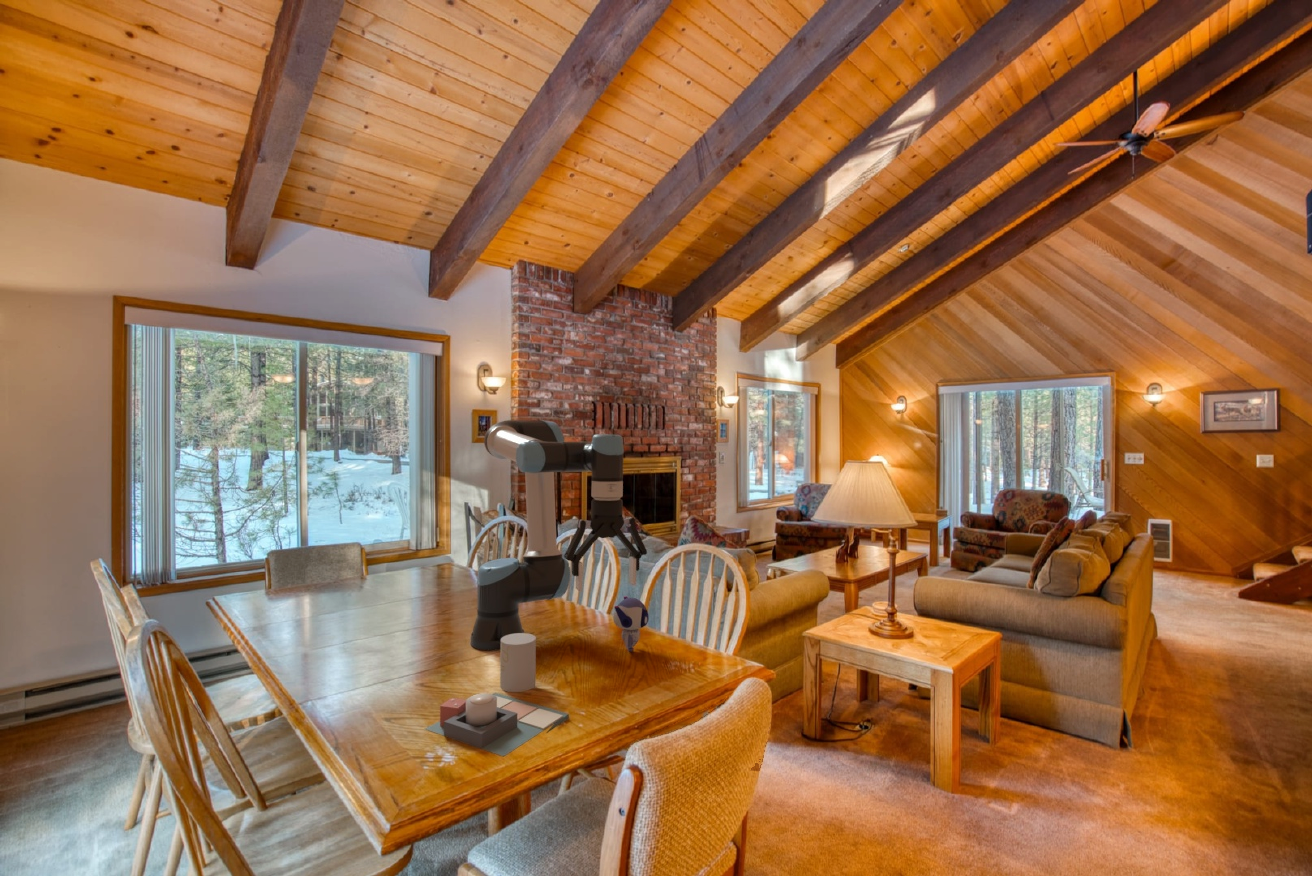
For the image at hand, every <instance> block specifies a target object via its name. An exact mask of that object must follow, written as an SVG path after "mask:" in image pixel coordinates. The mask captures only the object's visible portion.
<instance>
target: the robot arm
mask: <svg viewBox="0 0 1312 876" xmlns="http://www.w3.org/2000/svg"><path fill="white" fill-rule="evenodd" d="M483 444H484V447H485V450H486V451H487V452H488V453H489V454H490V455H491V456H493V457H494V458H497V459H501V460H506V459H508V460H510V461H513V462H515V464H516V466H517V468H518V471H520V472H521V473H524V476H525V477H524V479H525V501H526V503H525V504H526V506H525V507H526V528H527V529H526V532H527V534H526V535H527V551H526V552H525V553H524V554H523V556H522V559H523V561H522V562H520V559H518V558H515V557H502V558H497V559H493V560H489V561H487V562H484V563H483V564H481V565H480V566H479V567H478V570H477V571H478V572H477V578H476V579H477V580H476V585H477V591H476V592H477V594H476V596H477V599H476V600H477V601H476V603H477V605H476V618H475V622H474V625H473V628H472V629H473V630H472V632H471V633H470V645H471V647H472V648H474V649H477V650H482V651H501V638H502V637H504V636H506V635H509V634H515V633H525V630H524V628H523V625H522V621H521V617H520V613H519V612H520V611H519V609H520V608H519V606H520V604H522V603H524V604H525V603H532V602H540V601H545V600H547V601H551V600H553V599H558V598H561V597H563V596H564V595H565V594H566V593H567V590H568V589H569V586H570V581H571V575H572V576H573V577H575V589H576V590H577V591H578V592H582V591H583V562H582V561H581V560H582V559H583V557H584V556H585V554H586V553H587V552H589V551H588V550H589V549H590V548H591V547H592V545H593V544H594V543H595V542H596V541H597V540H598V539H599V538H601V539H607V538H615V537H617V538H618V540H619V541H620V542H621V543H622V544H623V546H624V547H625V548H626V549H627V551H628V552H629V553H630V554H631V555H632V556H629V557H628V583H629V585H631V586H637V572H638V571H639V570H640V559H641V558H642V556H644V555H647V554H648V551H647V549H646V546H645V545H644V542H643V540H642V538H641V535H640V533H639V530H638V529H637V527H636V519H635V518H634V517H631V516H627V517H626V518H623V511H624V510H623V509H624V508H623V507H624V505H623V503H624V502H623V499H621V498H623V494H624V493H623V492H624V490H623V489H624V486H623V484H624V481H623V479H624V452H625V449H624V439H623V436H622V435H621V434H604V433H603V434H600V433H599V434H593V436H592V438H591V441H589V440H581V441H565V437H564V434H563V430H562V429H561V427H560V426H559V425H558V423H556V422H555V421H549V420H544V419H543V420H517V419H515V420H514V419H508V420H502V421H498V422H496V423H495V424H493V425H491V426H490V427H489V428H488V429H487V431H486V432H485V435H484V439H483ZM570 472H571V473H575V472H576V473H577V472H579V473H581V472H590V473H591V493H590V495H591V497H592V498H593V499H592V500H590V501H591V502H590V503H591V505H590V507H591V508H590V516H591V518H590V519H589V520H585V519H582V518H581V519H580V518H579V519H578V521H577V528H576V530H575V532H574V534H573V537H572V538H571V541H570V542H569V545H568V547H567V549H566V551H565V553H564V556H563V553H562V551H561V550H560V549H559V548H558V545H557V521H556V519H557V518H556V500H555V498H556V497H555V475H554V473H570ZM623 526H625V527H627V529H628V532H629V534H630V535H631V538H632V540H633V542H634V544H635V546H636V548H637V549H636V548H635V546H634V545H633V544H632V542H631V541H630V540H629V539H628V537H627V536H626V535H625V533H624V532H623V531H622V530H621V529H622V528H623ZM588 527H590V529H591V531H590V532H589V533H588V535H587V537H586V538H585V540H584V541H583V543H582V544H580V542H581V541H582V540H583V539H582V538H583V536H584V534H585V531H586V530H588ZM579 545H580V546H579ZM578 546H579V548H578ZM569 562H571V567H570V563H569Z"/></svg>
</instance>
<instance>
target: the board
mask: <svg viewBox="0 0 1312 876" xmlns="http://www.w3.org/2000/svg"><path fill="white" fill-rule="evenodd" d="M492 694H493V695H495V696H496V697H497V719H496V721H494V722H493V723H491V724H489V725H487V726H483V727H475V726H472V725H469V724H466V710H465V711H463V712H461V713H459V714H457V715H456V716H454V717H452V718H450V719H448V720H446V721H444V726H440V720H439V721H437V722H435V723H432V724H431V725H430V726H429V725H428V726H427V727H426V728H424V730H426V731H429V732H432V733H435V734H437V735H441V736H444V737H446V738H449V739H451V740H454V741H458V742H461V743H464V744H467V745H468V746H472V747H475V748H478V749H480V750H484V751H486V752H489V753H493V754H494V755H497V756H501V757H505V756H507V755H509V754H510V753H512V752H513V751H515V750H516V749H518V748H520V747H521V746H522V745H523V744H525V743H527V742H528V741H530V740H531V739H533V738H535V737H536V736H537V735H539V734H540V733H542V732H543V731H545V730H546V729H548V728H549V729H548V730H547V732H546V734H548V733H549V732H550V731H552V730H554V729H555V728H557V727H558V726H560V725H561V724H563V723H565V722H566V721H567V720H569V719H570V713H567V712H564V711H561V710H556V709H554V708H550V707H546V706H543V705H540V704H537V703H533V702H532V703H531V702H529V701H526V700H523V699H518V698H516V697H512V696H509V695H504V694H501V693H499V692H498V693H497V692H494V693H492Z"/></svg>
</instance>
